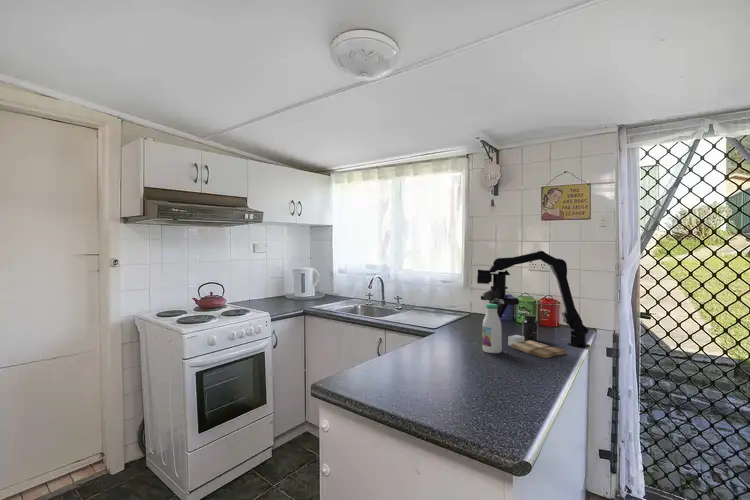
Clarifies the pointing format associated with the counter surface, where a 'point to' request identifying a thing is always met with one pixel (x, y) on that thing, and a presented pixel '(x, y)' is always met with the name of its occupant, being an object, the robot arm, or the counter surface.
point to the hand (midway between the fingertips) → (498, 317)
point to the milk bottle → (492, 330)
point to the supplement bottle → (530, 328)
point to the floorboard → (548, 352)
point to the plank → (528, 346)
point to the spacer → (515, 339)
